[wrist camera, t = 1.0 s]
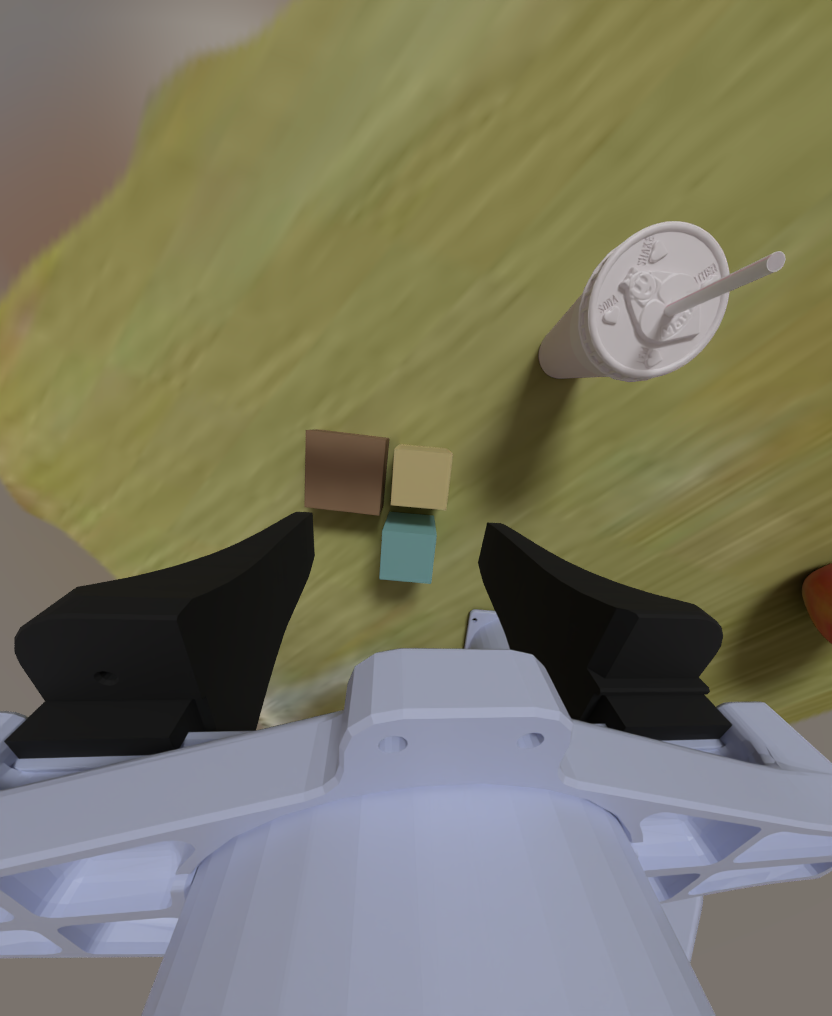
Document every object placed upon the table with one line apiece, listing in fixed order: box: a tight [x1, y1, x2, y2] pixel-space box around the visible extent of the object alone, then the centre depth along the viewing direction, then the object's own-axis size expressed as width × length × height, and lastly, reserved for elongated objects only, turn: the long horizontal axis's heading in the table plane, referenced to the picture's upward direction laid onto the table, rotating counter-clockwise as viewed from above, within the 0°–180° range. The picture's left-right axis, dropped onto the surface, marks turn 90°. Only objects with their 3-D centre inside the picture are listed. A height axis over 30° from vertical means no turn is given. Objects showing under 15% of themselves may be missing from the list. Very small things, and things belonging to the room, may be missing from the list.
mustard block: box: [391, 444, 453, 510], centre depth 23 cm, size 4×4×5 cm
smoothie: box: [539, 221, 785, 382], centre depth 16 cm, size 6×6×14 cm
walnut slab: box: [305, 430, 389, 515], centre depth 25 cm, size 6×6×3 cm
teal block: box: [380, 512, 437, 584], centre depth 25 cm, size 4×4×5 cm
